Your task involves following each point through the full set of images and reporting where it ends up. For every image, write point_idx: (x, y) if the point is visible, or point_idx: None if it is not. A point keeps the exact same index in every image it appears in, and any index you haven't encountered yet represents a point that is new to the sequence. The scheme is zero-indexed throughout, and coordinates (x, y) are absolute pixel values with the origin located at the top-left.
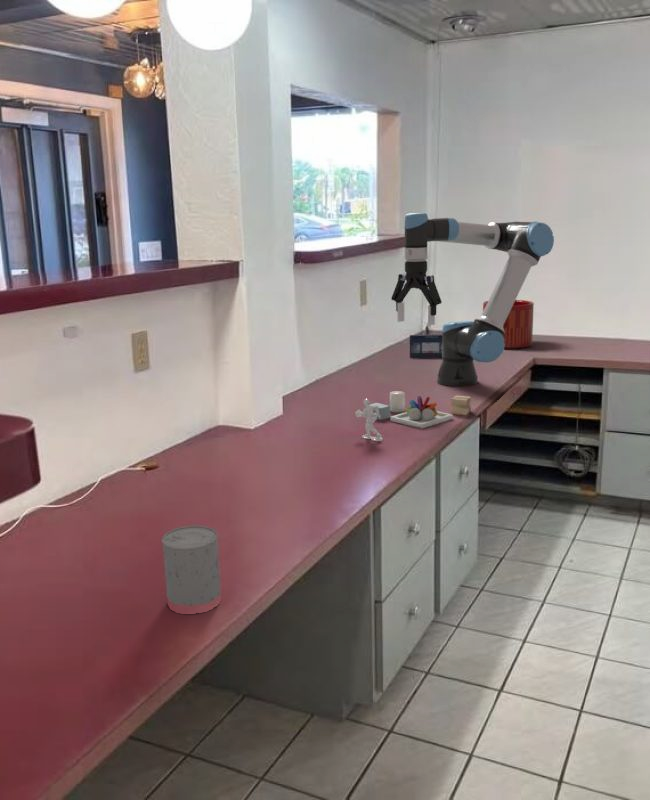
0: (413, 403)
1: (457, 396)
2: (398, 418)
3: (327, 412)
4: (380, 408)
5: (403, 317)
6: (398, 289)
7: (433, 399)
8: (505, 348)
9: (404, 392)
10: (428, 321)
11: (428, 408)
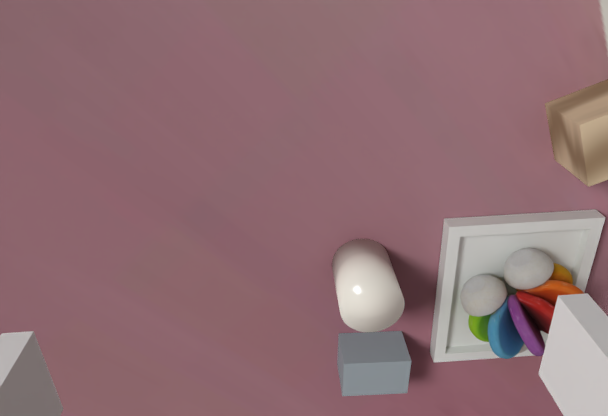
0: (515, 352)
1: (593, 135)
2: (467, 359)
3: (207, 412)
4: (404, 392)
5: (16, 384)
6: None
7: (355, 31)
8: None
9: (390, 284)
10: (574, 414)
11: None
